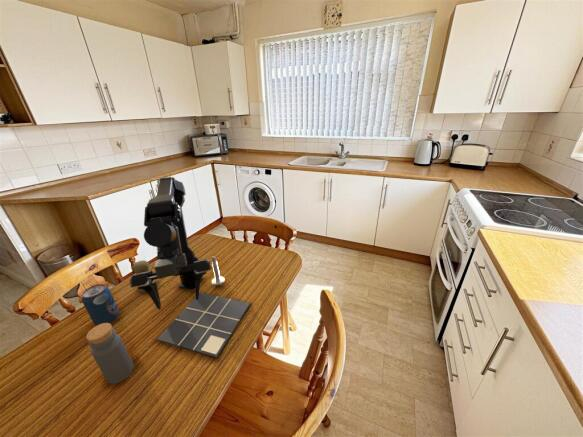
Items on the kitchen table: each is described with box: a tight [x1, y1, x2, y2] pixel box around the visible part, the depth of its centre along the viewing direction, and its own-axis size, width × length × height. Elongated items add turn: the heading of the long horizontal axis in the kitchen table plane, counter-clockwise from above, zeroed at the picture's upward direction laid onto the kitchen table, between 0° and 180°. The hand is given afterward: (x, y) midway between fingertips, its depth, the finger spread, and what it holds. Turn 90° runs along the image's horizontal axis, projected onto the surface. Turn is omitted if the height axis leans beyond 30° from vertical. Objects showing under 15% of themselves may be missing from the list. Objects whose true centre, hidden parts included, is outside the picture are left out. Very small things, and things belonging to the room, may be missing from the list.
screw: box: [211, 255, 226, 288], centre depth 88 cm, size 13×5×5 cm
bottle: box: [86, 323, 135, 385], centre depth 58 cm, size 6×6×15 cm
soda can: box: [81, 283, 120, 326], centre depth 74 cm, size 7×7×12 cm
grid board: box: [156, 292, 251, 359], centre depth 75 cm, size 20×20×1 cm
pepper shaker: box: [132, 259, 158, 293], centre depth 88 cm, size 6×6×11 cm
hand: (178, 304), depth 63 cm, fingers open, 9 cm apart
